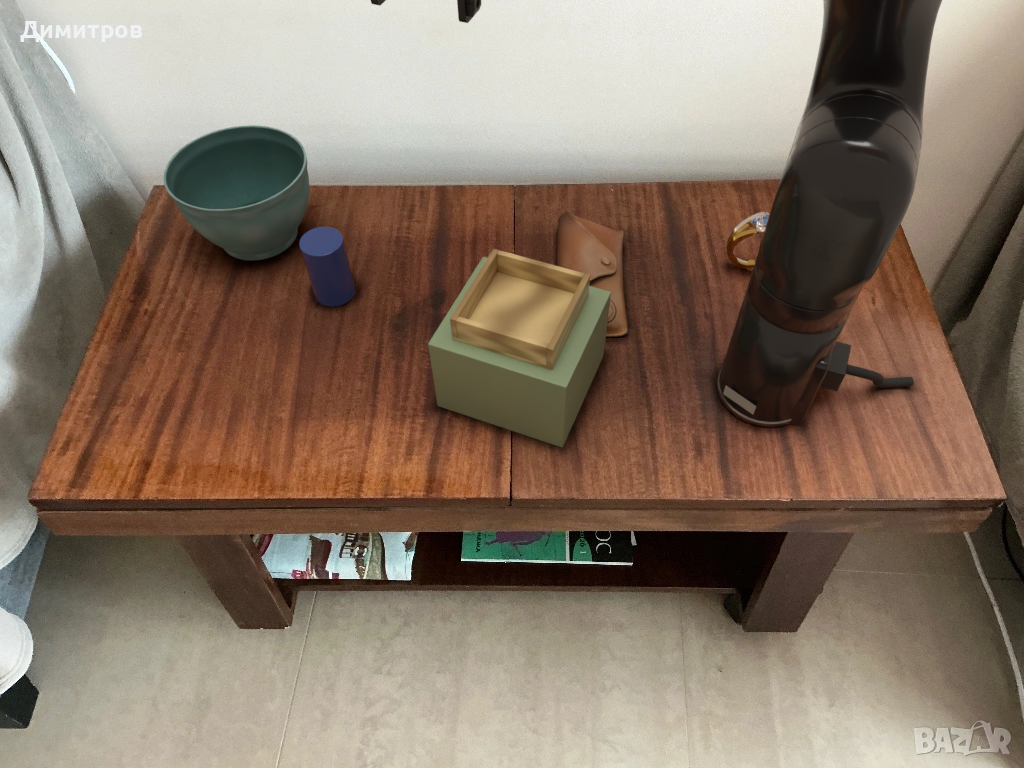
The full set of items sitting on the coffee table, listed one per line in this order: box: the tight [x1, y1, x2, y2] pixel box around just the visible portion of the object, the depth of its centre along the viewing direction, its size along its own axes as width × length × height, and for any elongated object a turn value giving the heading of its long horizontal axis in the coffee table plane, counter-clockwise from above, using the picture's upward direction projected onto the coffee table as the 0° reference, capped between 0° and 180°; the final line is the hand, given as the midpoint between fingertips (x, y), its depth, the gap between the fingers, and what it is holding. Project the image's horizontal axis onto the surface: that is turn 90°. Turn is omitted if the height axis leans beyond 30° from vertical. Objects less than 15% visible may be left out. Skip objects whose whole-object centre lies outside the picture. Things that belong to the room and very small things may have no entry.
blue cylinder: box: [298, 226, 356, 308], centre depth 89 cm, size 5×5×8 cm
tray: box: [450, 248, 590, 370], centre depth 74 cm, size 10×10×3 cm
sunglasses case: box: [556, 210, 629, 338], centre depth 91 cm, size 18×7×7 cm
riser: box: [427, 256, 611, 448], centre depth 79 cm, size 14×13×10 cm
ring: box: [726, 211, 770, 272], centre depth 90 cm, size 7×3×8 cm, turn 86°
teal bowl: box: [163, 124, 310, 261], centre depth 94 cm, size 16×16×11 cm
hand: (423, 9), depth 68 cm, fingers open, 8 cm apart
